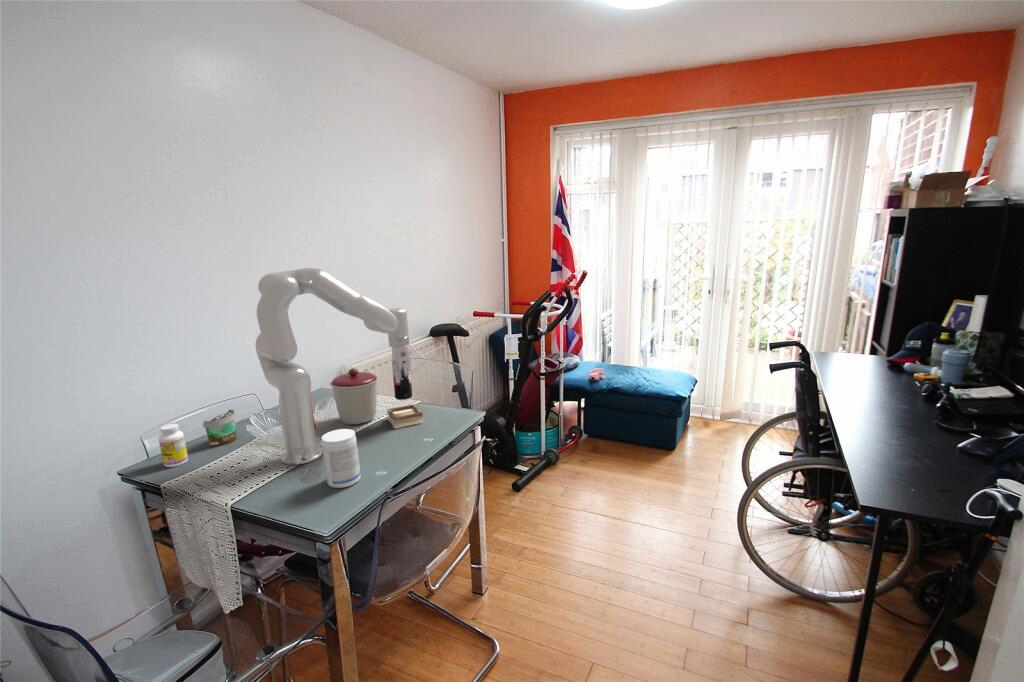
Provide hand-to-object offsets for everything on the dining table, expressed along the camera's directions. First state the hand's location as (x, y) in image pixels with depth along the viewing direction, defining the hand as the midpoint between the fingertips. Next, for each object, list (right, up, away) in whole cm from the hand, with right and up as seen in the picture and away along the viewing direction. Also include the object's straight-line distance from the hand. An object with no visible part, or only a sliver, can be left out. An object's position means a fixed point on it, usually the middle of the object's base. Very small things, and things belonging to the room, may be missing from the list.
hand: (402, 386), depth 182 cm
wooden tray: (0, -14, +3) cm, 14 cm away
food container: (-60, -19, -11) cm, 64 cm away
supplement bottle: (-68, -23, -27) cm, 77 cm away
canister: (-19, -14, +6) cm, 24 cm away
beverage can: (0, -5, +1) cm, 5 cm away
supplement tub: (-8, -24, -41) cm, 49 cm away
